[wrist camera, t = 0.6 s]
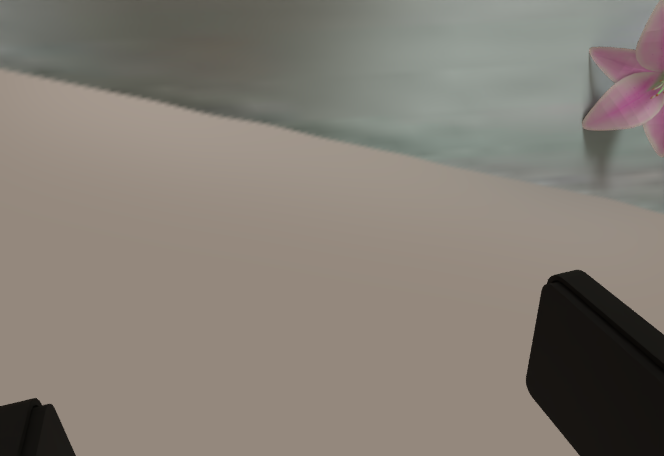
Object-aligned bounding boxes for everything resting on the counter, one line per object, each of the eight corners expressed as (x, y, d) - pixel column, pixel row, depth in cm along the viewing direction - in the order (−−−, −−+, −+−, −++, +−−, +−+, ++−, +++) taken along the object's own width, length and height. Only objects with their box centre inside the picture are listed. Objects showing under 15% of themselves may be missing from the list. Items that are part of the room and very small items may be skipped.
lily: (622, -40, 42) (654, 5, 35) (767, 2, 42) (828, 55, 35) (547, 95, 50) (561, 153, 43) (668, 130, 50) (702, 193, 43)
